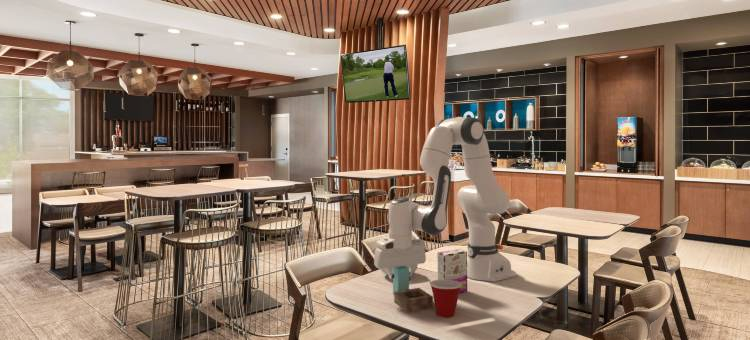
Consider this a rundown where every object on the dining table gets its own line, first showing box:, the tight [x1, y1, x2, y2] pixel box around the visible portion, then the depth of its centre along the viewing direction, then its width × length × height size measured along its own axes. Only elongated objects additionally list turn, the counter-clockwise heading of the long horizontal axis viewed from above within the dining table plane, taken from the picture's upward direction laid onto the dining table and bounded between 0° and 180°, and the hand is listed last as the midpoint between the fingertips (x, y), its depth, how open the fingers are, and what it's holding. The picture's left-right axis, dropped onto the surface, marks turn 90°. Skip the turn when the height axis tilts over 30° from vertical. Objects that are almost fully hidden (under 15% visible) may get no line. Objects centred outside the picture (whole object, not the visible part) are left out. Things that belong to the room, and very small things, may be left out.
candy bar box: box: [436, 248, 468, 294], centre depth 180 cm, size 11×5×16 cm, turn 117°
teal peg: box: [392, 266, 410, 296], centre depth 175 cm, size 4×4×12 cm
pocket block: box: [393, 287, 434, 313], centre depth 166 cm, size 10×10×5 cm
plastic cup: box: [429, 279, 462, 319], centre depth 157 cm, size 11×11×12 cm
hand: (400, 277), depth 175 cm, fingers open, 6 cm apart
